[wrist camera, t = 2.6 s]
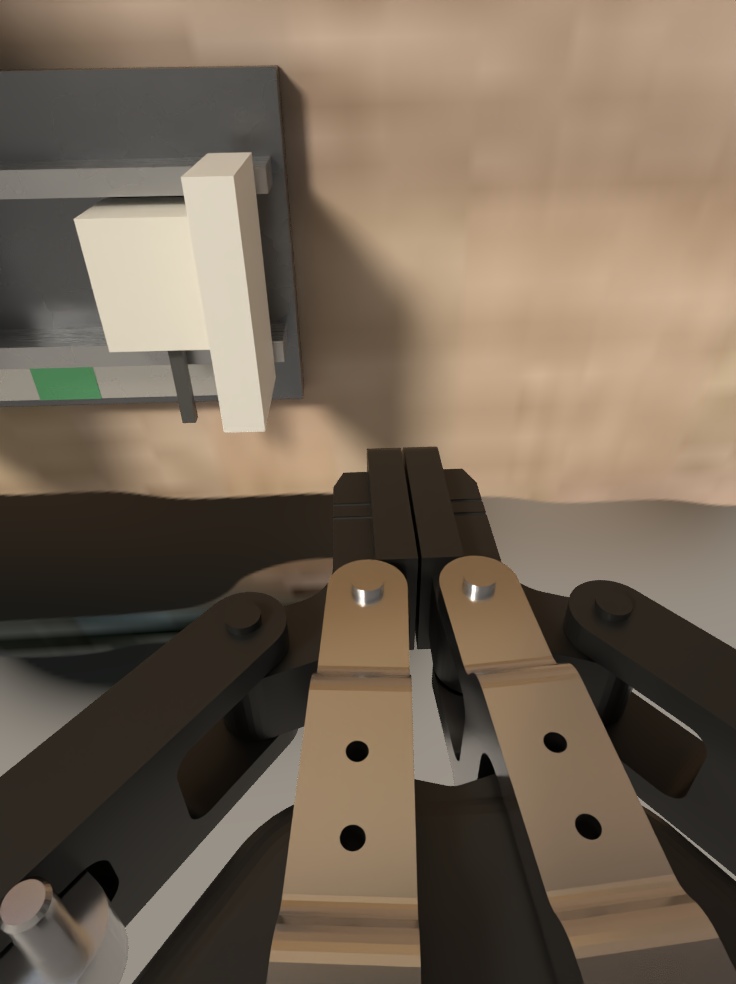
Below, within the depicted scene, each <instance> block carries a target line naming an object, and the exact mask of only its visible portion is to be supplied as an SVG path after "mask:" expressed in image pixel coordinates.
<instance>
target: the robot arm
mask: <svg viewBox="0 0 736 984" xmlns="http://www.w3.org/2000/svg"><path fill="white" fill-rule="evenodd" d="M333 496H334V497H333V504H334V507H333V510H334V511H333V573H332V576H331V577H330V579H329V582H328V584H327V585H326V586H325V587H324V588H323V589H322V590H321V591H320V592H319V593H317V594H316V595H314V596H312V597H310V598H308V599H306V600H303V601H301V602H297V603H294V604H291V605H287V606H284V607H283V606H282V604H281V603H280V602H279V601H278V600H276V599H275V598H273V597H271V596H269V595H266V594H263V593H257V592H244V593H238V594H234V595H231V596H228V597H226V598H224V599H222V600H220V601H219V602H217V603H216V604H214V605H213V606H212V607H211V608H209V609H208V610H207V611H206V612H205V613H203V614H202V615H201V616H200V617H198V618H197V619H196V620H195V621H193V622H192V623H191V624H190V625H188V626H187V627H186V628H185V629H183V630H182V631H181V632H180V633H178V634H177V635H176V636H175V637H173V638H172V639H171V640H170V641H169V642H167V643H166V644H165V645H164V646H162V647H161V648H160V649H159V650H157V651H156V652H155V653H154V654H153V655H151V656H150V657H149V658H148V659H146V660H145V661H144V662H142V663H141V664H140V665H139V666H137V667H136V668H135V669H134V670H133V671H131V672H130V673H129V674H128V675H126V676H125V677H124V678H123V679H121V680H120V681H119V682H118V683H116V684H115V685H114V686H113V687H112V688H110V689H109V690H108V691H107V692H105V693H104V694H103V695H101V696H100V697H99V698H98V699H97V700H95V701H94V702H93V703H92V704H90V705H89V706H88V707H87V708H85V709H84V710H83V711H82V712H80V713H79V714H78V715H77V716H75V717H74V718H73V719H72V720H70V721H69V722H68V723H67V724H65V725H64V726H63V727H62V728H61V729H59V730H58V731H57V732H56V733H54V734H53V735H52V736H51V737H49V738H48V739H47V740H46V741H44V742H43V743H42V744H41V745H39V746H38V747H37V748H36V749H34V750H33V751H32V752H31V753H29V754H28V755H27V756H26V757H25V758H23V759H22V760H21V761H20V762H19V763H17V764H16V765H15V766H13V767H12V768H11V769H10V770H8V771H7V772H6V773H5V774H4V775H2V776H1V777H0V984H119V983H120V981H121V978H122V975H123V973H124V970H125V967H126V962H127V958H128V937H127V933H126V929H125V927H126V925H128V923H129V922H130V921H131V920H132V919H133V918H134V917H135V916H136V915H137V913H138V912H139V911H140V910H141V909H142V908H143V907H144V906H145V905H146V903H147V902H148V901H149V900H150V899H151V898H152V897H153V896H154V894H155V893H156V892H157V891H158V890H159V889H160V888H161V886H163V884H164V883H165V882H166V881H167V880H168V879H169V878H170V877H171V875H172V874H173V873H174V872H175V871H176V870H177V869H178V868H179V867H180V865H181V864H182V863H183V862H184V861H185V860H186V859H187V858H188V856H189V855H190V854H191V853H192V852H193V851H194V850H195V849H196V848H197V847H198V845H199V844H200V843H201V842H202V841H203V840H204V839H205V838H206V836H207V835H208V834H209V833H210V832H211V831H212V830H213V829H214V828H215V826H216V825H217V824H218V823H219V822H220V821H221V820H222V819H223V817H224V816H225V815H226V814H227V813H228V812H229V811H230V810H231V809H232V807H233V806H234V805H235V804H236V803H237V802H238V801H239V800H240V799H241V797H242V796H243V795H244V794H245V793H246V792H247V791H248V789H249V788H250V787H251V786H252V785H253V784H254V783H255V782H256V781H257V780H258V778H259V777H260V776H261V775H262V774H263V773H264V772H265V771H266V769H267V768H268V767H269V766H270V765H271V764H272V763H273V762H274V760H275V759H276V758H277V757H278V756H279V755H280V754H281V753H282V752H283V751H284V749H285V748H286V747H287V746H288V745H289V744H290V743H291V741H292V740H293V739H294V737H295V735H296V733H297V731H298V728H300V727H304V733H303V741H302V749H301V757H300V764H299V772H298V779H297V787H296V795H295V802H294V805H292V806H290V807H288V808H286V809H285V810H283V811H281V812H280V813H278V814H276V815H275V816H273V817H272V818H270V819H269V820H268V821H267V822H265V823H264V824H263V825H262V826H260V827H259V828H258V829H257V830H256V831H255V832H254V833H253V834H252V835H251V836H250V837H249V838H248V839H247V840H246V841H245V842H244V843H243V844H242V845H241V847H240V848H239V849H238V850H237V851H236V853H235V854H234V855H233V857H232V858H231V859H230V860H229V862H228V863H227V864H226V865H225V867H224V868H223V869H222V870H221V872H220V873H219V874H218V875H217V877H216V878H215V879H214V881H213V882H212V883H211V884H210V886H209V887H208V888H207V889H206V891H205V892H204V893H203V895H202V896H201V897H200V898H199V899H198V901H197V902H196V903H195V905H194V906H193V907H192V908H191V910H190V911H189V912H188V913H187V915H186V916H185V917H184V918H183V920H182V921H181V922H180V924H179V925H178V926H177V927H176V929H175V930H174V931H173V932H172V934H171V935H170V936H169V937H168V939H167V940H166V941H165V942H164V944H163V945H162V947H161V948H160V949H159V950H158V951H157V953H156V954H155V955H154V956H153V958H152V959H151V960H150V962H149V963H148V964H147V965H146V967H145V968H144V969H143V970H142V972H141V973H140V974H139V975H138V977H137V978H136V979H135V980H134V982H133V983H132V984H736V881H735V880H734V879H732V878H731V877H730V876H729V875H728V874H727V873H725V872H724V871H723V870H722V869H721V868H719V867H718V866H717V865H716V864H715V863H714V862H712V861H711V860H710V859H709V858H708V857H707V856H705V855H704V854H703V853H702V852H701V851H699V849H697V848H696V847H695V846H694V845H693V844H691V843H690V842H689V841H688V840H687V839H686V838H685V837H683V836H682V835H681V834H680V833H679V832H677V831H676V830H675V829H674V828H673V827H672V826H670V825H669V824H668V823H667V822H665V821H664V820H663V819H661V818H660V817H659V816H657V815H656V814H654V813H653V812H651V811H650V810H648V809H647V808H645V807H643V806H642V805H641V803H640V801H639V799H638V797H639V798H640V799H642V800H643V801H644V802H645V803H646V804H648V805H649V806H650V807H651V808H653V809H654V810H655V811H656V812H658V813H659V814H660V815H662V816H663V817H664V818H665V819H666V820H668V821H669V822H670V823H671V824H673V825H674V826H675V827H676V828H678V829H679V830H680V831H681V832H682V833H684V834H685V835H686V836H687V837H688V838H690V839H691V840H692V841H693V842H695V843H696V844H697V845H699V846H700V847H701V848H702V849H703V850H705V851H706V852H707V853H708V854H709V855H711V856H712V857H713V858H714V859H716V860H717V861H718V862H719V863H721V864H722V865H723V866H724V867H726V868H727V869H728V870H729V871H731V872H732V873H733V874H734V875H735V876H736V649H734V648H732V647H731V646H729V645H728V644H726V643H724V642H722V641H721V640H719V639H717V638H715V637H714V636H712V635H711V634H709V633H707V632H706V631H704V630H702V629H700V628H699V627H697V626H695V625H694V624H692V623H690V622H688V621H687V620H685V619H683V618H682V617H680V616H678V615H677V614H675V613H673V612H672V611H670V610H668V609H666V608H665V607H663V606H661V605H660V604H658V603H656V602H655V601H653V600H651V599H649V598H648V597H646V596H644V595H643V594H641V593H639V592H638V591H636V590H634V589H632V588H630V587H628V586H626V585H623V584H620V583H617V582H612V581H605V580H595V581H589V582H585V583H583V584H581V585H579V586H577V587H576V588H575V589H574V590H573V591H572V593H571V594H570V597H564V596H559V595H555V594H550V593H545V592H541V591H537V590H534V589H531V588H528V587H527V586H525V585H523V584H521V583H520V582H519V580H518V578H517V576H516V574H515V573H514V572H513V571H512V570H511V569H510V568H509V567H508V566H506V565H505V564H503V563H502V562H501V559H500V556H499V553H498V550H497V546H496V543H495V540H494V537H493V534H492V531H491V527H490V524H489V521H488V518H487V515H486V514H485V512H486V511H485V509H484V505H483V502H482V501H481V495H480V492H479V489H478V486H477V483H476V482H475V481H474V480H473V479H472V478H471V477H470V476H469V475H468V474H467V473H466V472H465V471H464V470H463V469H443V468H442V463H441V459H440V455H439V451H438V448H437V447H409V448H403V450H402V452H401V448H381V449H367V472H353V473H343V474H342V476H341V477H340V479H339V480H338V482H337V483H336V485H335V486H334V492H333ZM415 635H416V642H417V649H431V654H432V660H433V670H432V688H433V692H434V696H435V700H436V704H437V708H438V713H439V717H440V721H441V725H442V729H443V733H444V737H445V742H446V746H447V750H448V755H449V759H450V762H451V767H452V772H453V778H454V785H455V786H445V785H440V784H435V783H430V782H425V781H420V780H416V779H414V750H413V714H412V681H411V675H410V669H409V667H410V666H409V650H413V649H414V638H415ZM633 688H634V689H635V690H637V691H638V692H640V693H641V694H643V695H644V696H646V697H647V698H649V699H650V700H651V701H653V702H654V703H656V704H657V705H658V706H660V707H661V708H663V709H664V710H666V711H667V712H668V713H670V714H671V715H673V716H674V717H676V718H677V719H679V720H680V721H681V722H683V723H684V724H686V725H687V726H689V727H690V728H691V729H693V730H694V731H695V732H696V733H697V734H698V735H699V737H700V738H701V739H702V741H701V740H700V739H698V738H697V737H695V736H694V735H693V734H691V733H690V732H689V731H687V730H685V729H684V728H683V727H681V726H680V725H679V724H677V723H676V722H674V721H673V720H671V719H670V718H669V717H667V716H665V715H664V714H663V713H661V712H660V711H658V710H657V709H656V708H654V707H653V706H651V705H650V704H648V703H647V702H646V701H644V700H643V699H641V698H640V697H639V696H637V695H636V694H634V693H633V692H632V689H633ZM637 796H638V797H637Z"/></svg>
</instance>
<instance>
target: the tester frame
mask: <svg viewBox="0 0 736 984" xmlns="http://www.w3.org/2000/svg"><path fill="white" fill-rule="evenodd" d="M240 152H252V161H253V170H254V180H255V189H256V198H257V207H258V217H259V226H260V235H261V245H262V254H263V263H264V272H265V282H266V291H267V300H268V310H269V319H270V328H271V338H272V347H273V356H274V365H275V375H276V379H275V384H274V389H273V394H272V399H303V393H304V381H303V369H302V356H301V344H300V331H299V319H298V306H297V294H296V281H295V269H294V256H293V244H292V231H291V219H290V206H289V194H288V181H287V169H286V156H285V144H284V131H283V119H282V106H281V94H280V81H279V69H278V65H275V66H217V67H158V68H100V69H42V70H0V407H12V406H48V405H85V404H121V403H158V402H178V398H177V393H176V388H175V384H174V379H173V374H172V369H171V365H170V360H169V355H168V351H137V352H109V349H108V345H107V341H106V338H105V334H104V330H103V326H102V323H101V319H100V315H99V312H98V308H97V304H96V300H95V297H94V293H93V289H92V286H91V282H90V278H89V274H88V271H87V267H86V263H85V260H84V256H83V252H82V248H81V245H80V241H79V237H78V233H77V230H76V226H75V222H74V218H76V217H77V216H79V215H80V214H82V213H83V212H85V211H86V210H87V209H89V208H90V207H92V206H93V205H95V204H96V203H98V202H99V201H101V200H102V199H103V198H148V197H184V194H183V188H182V182H181V176H183V175H184V174H185V173H186V172H187V171H188V170H189V169H190V168H192V167H193V166H194V165H195V164H196V163H197V162H198V161H199V160H201V159H202V158H203V157H204V156H205V155H206V154H207V153H240ZM185 353H186V358H187V363H188V369H189V374H190V379H191V384H192V389H193V394H194V399H195V401H219V400H218V394H217V388H216V382H215V376H214V371H213V365H212V359H211V353H210V350H185Z"/></svg>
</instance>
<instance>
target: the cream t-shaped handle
mask: <svg viewBox="0 0 736 984" xmlns="http://www.w3.org/2000/svg"><path fill="white" fill-rule="evenodd" d="M181 182H182V188H183V194H184V197H148V198H103V199H102V200H101V201H99V202H98V203H96V204H95V205H93V206H92V207H90V208H89V209H87V210H86V211H85V212H83V213H82V214H80V215H79V216H77V217H76V218H74V222H75V226H76V230H77V233H78V237H79V241H80V245H81V248H82V252H83V256H84V260H85V263H86V267H87V271H88V274H89V278H90V282H91V286H92V289H93V293H94V297H95V300H96V304H97V308H98V312H99V315H100V319H101V323H102V326H103V330H104V334H105V338H106V341H107V345H108V349H109V352H137V351H168V355H169V360H170V365H171V369H172V374H173V379H174V384H175V388H176V393H177V398H178V403H179V407H180V412H181V417H182V421H183V423H196V421H197V418H198V415H197V410H196V405H195V399H194V394H193V389H192V384H191V379H190V374H189V369H188V363H187V358H186V353H185V350H210V353H211V359H212V365H213V371H214V376H215V382H216V388H217V394H218V400H219V406H220V412H221V418H222V424H223V430H224V433H228V432H263V431H266V425H267V420H268V415H269V410H270V405H271V399H272V394H273V389H274V384H275V379H276V375H275V365H274V356H273V347H272V338H271V328H270V319H269V310H268V300H267V291H266V282H265V272H264V263H263V254H262V245H261V235H260V226H259V217H258V207H257V198H256V189H255V180H254V170H253V161H252V152H240V153H207V154H206V155H205V156H204V157H203V158H202V159H201V160H199V161H198V162H197V163H196V164H195V165H194V166H193V167H192V168H190V169H189V170H188V171H187V172H186V173H185V174H184V175H183V176H181Z"/></svg>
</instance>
